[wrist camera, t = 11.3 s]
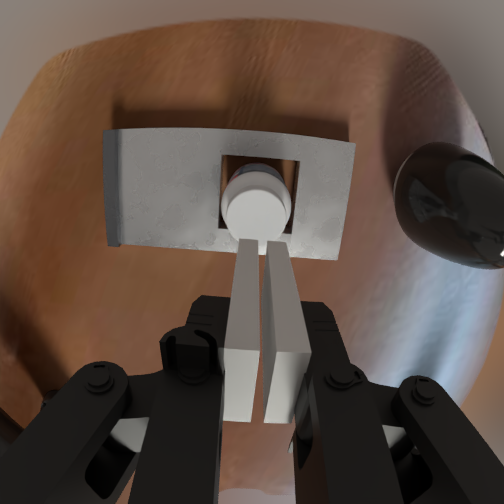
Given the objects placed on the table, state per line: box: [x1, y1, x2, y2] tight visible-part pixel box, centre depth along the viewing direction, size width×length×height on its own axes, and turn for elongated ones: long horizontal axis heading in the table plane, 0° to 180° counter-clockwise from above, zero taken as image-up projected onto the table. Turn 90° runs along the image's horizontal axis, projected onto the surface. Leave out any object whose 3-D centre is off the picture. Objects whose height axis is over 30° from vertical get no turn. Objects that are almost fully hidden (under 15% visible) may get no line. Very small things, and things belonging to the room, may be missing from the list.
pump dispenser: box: [393, 142, 504, 270], centre depth 20 cm, size 10×10×15 cm
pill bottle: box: [221, 163, 291, 247], centre depth 24 cm, size 5×5×9 cm
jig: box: [103, 128, 356, 260], centre depth 26 cm, size 22×11×3 cm, turn 86°
